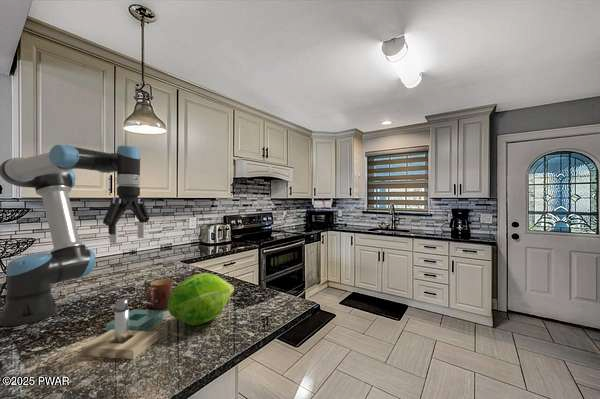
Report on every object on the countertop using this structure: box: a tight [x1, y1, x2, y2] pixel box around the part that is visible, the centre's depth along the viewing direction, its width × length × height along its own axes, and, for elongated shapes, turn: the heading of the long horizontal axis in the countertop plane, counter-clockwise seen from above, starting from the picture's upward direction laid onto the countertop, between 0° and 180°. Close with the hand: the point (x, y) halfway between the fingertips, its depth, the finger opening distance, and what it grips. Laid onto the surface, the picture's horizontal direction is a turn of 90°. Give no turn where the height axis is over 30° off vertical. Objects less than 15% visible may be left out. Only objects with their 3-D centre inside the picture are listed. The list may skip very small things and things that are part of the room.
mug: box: [146, 278, 175, 310], centre depth 105 cm, size 12×9×10 cm
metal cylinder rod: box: [114, 298, 130, 344], centre depth 76 cm, size 4×4×14 cm
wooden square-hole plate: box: [81, 329, 159, 360], centre depth 76 cm, size 16×10×2 cm, turn 83°
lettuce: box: [167, 272, 235, 326], centre depth 93 cm, size 19×25×17 cm
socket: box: [105, 308, 164, 333], centre depth 90 cm, size 12×12×3 cm
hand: (128, 240), depth 99 cm, fingers open, 13 cm apart
